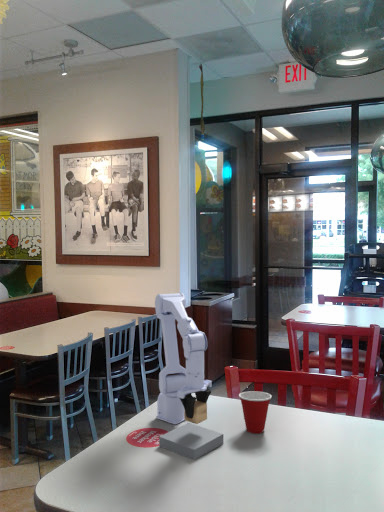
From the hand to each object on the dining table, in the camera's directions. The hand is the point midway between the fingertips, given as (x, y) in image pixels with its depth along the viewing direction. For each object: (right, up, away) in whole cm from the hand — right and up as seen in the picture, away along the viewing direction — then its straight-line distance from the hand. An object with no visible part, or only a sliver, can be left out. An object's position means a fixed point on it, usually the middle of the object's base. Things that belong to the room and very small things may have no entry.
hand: (195, 414), depth 148 cm
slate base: (-1, -9, -2) cm, 9 cm away
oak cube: (0, -2, 0) cm, 2 cm away
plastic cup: (+20, -8, +9) cm, 23 cm away
